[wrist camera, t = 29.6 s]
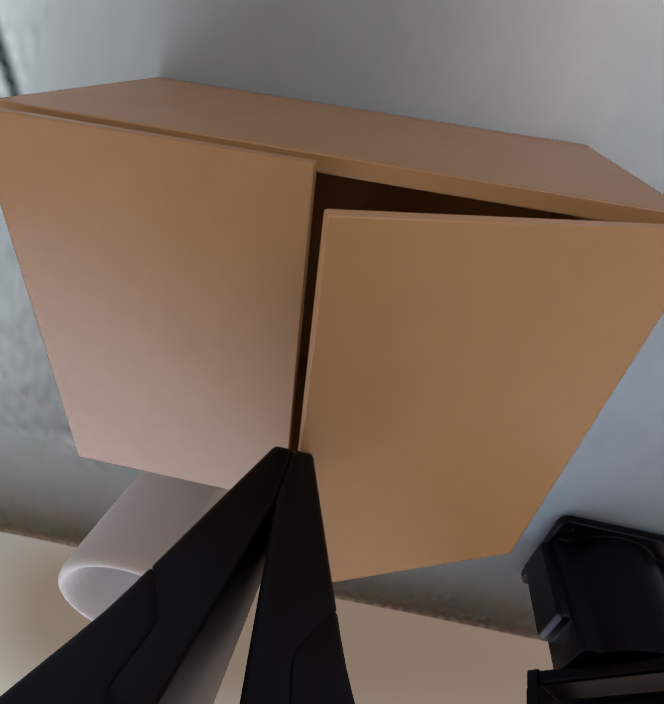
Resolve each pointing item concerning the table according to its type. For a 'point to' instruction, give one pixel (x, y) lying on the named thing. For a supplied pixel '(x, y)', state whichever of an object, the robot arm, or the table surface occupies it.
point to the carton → (231, 246)
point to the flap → (462, 373)
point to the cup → (132, 538)
